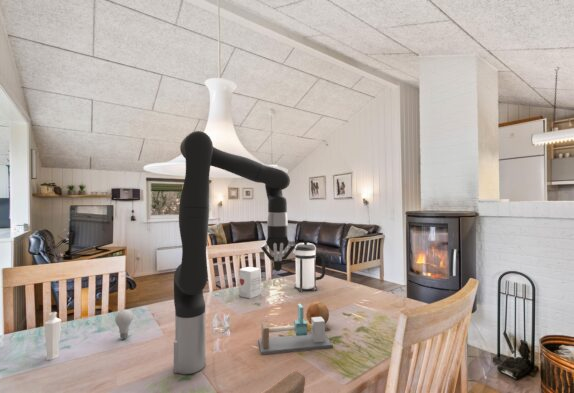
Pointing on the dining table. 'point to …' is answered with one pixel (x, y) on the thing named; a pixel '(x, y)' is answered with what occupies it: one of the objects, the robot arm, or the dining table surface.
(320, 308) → the onion
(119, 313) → the lightbulb
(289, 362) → the dining table surface
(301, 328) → the light blue bracket block
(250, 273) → the supplement box
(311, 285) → the coffee press
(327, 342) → the grey rod holder stand
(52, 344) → the perfume bottle
